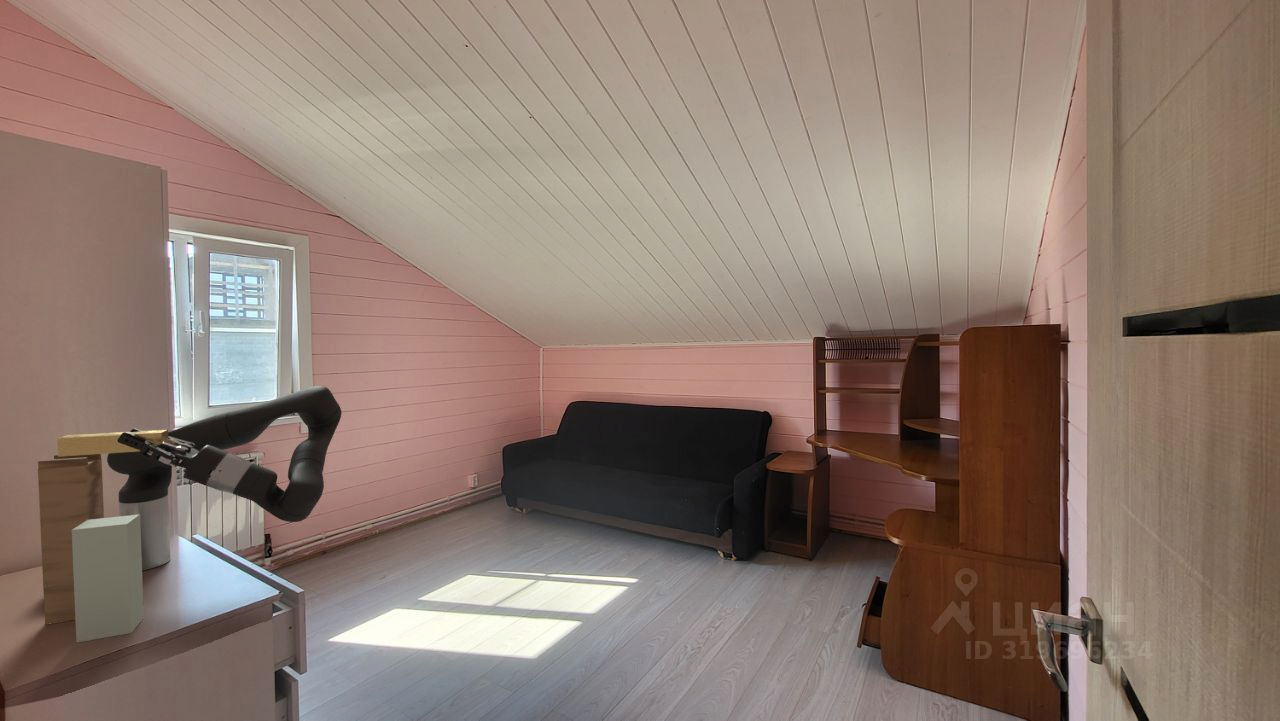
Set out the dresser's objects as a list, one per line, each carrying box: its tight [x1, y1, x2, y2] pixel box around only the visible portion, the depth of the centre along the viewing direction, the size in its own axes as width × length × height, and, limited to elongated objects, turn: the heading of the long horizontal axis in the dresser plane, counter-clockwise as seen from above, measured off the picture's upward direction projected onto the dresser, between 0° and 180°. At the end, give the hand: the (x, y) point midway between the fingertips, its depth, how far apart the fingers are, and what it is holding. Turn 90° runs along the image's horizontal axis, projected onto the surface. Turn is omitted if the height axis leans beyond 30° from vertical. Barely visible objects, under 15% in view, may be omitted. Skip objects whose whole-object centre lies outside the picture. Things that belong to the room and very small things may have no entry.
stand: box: [37, 454, 105, 625], centre depth 112 cm, size 7×7×34 cm
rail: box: [56, 429, 169, 457], centre depth 105 cm, size 4×15×4 cm, turn 115°
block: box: [72, 514, 145, 644], centre depth 106 cm, size 6×8×22 cm
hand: (125, 434), depth 106 cm, fingers closed on rail, 3 cm apart
